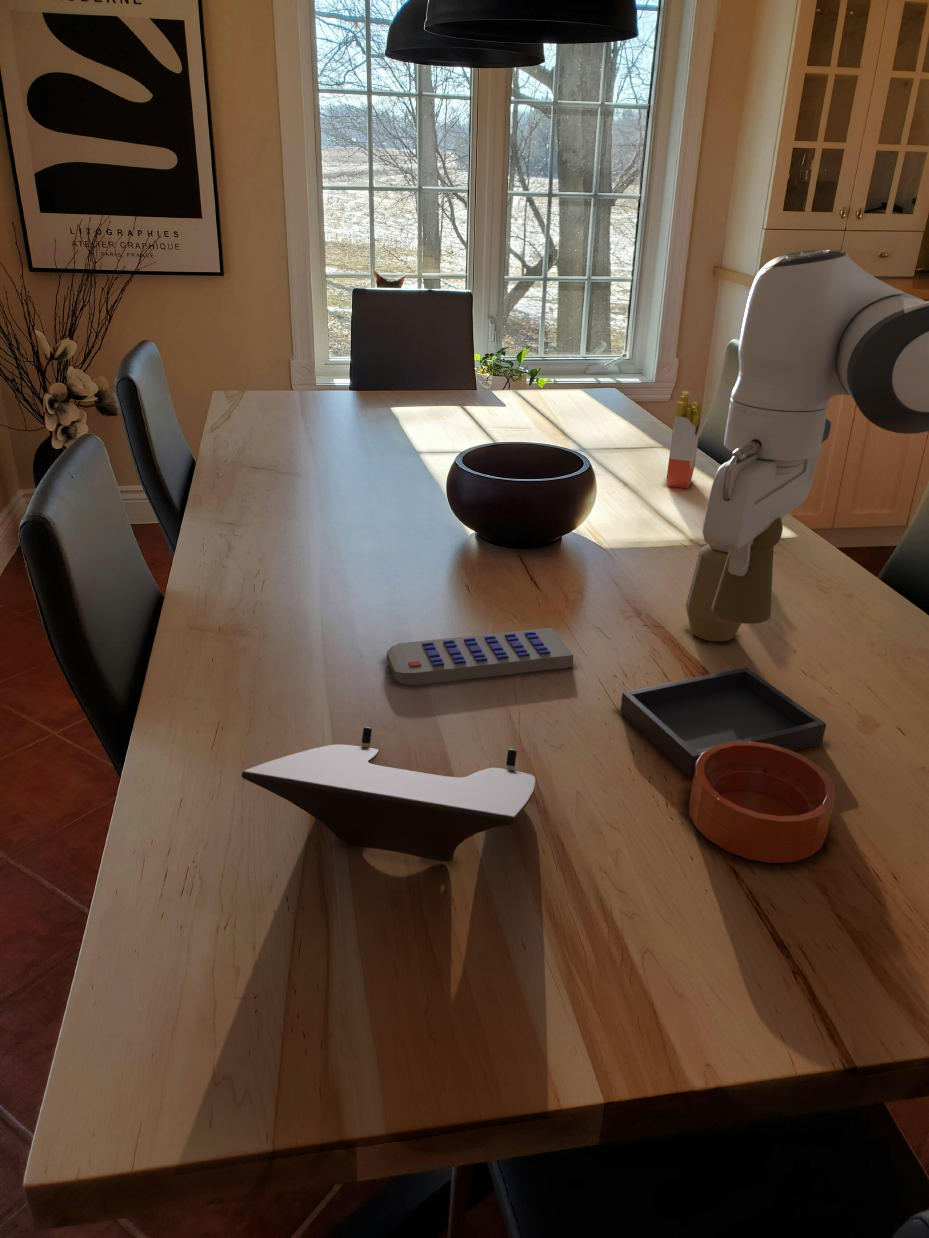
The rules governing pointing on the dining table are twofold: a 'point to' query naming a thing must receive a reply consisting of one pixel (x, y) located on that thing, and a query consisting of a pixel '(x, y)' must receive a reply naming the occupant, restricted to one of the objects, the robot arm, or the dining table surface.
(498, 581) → the dining table surface
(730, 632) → the squeeze bottle
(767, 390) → the robot arm
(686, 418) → the french fries container
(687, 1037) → the dining table surface
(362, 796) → the laptop tray
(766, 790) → the bowl
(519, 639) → the remote control
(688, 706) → the tray
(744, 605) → the olive green bottle
